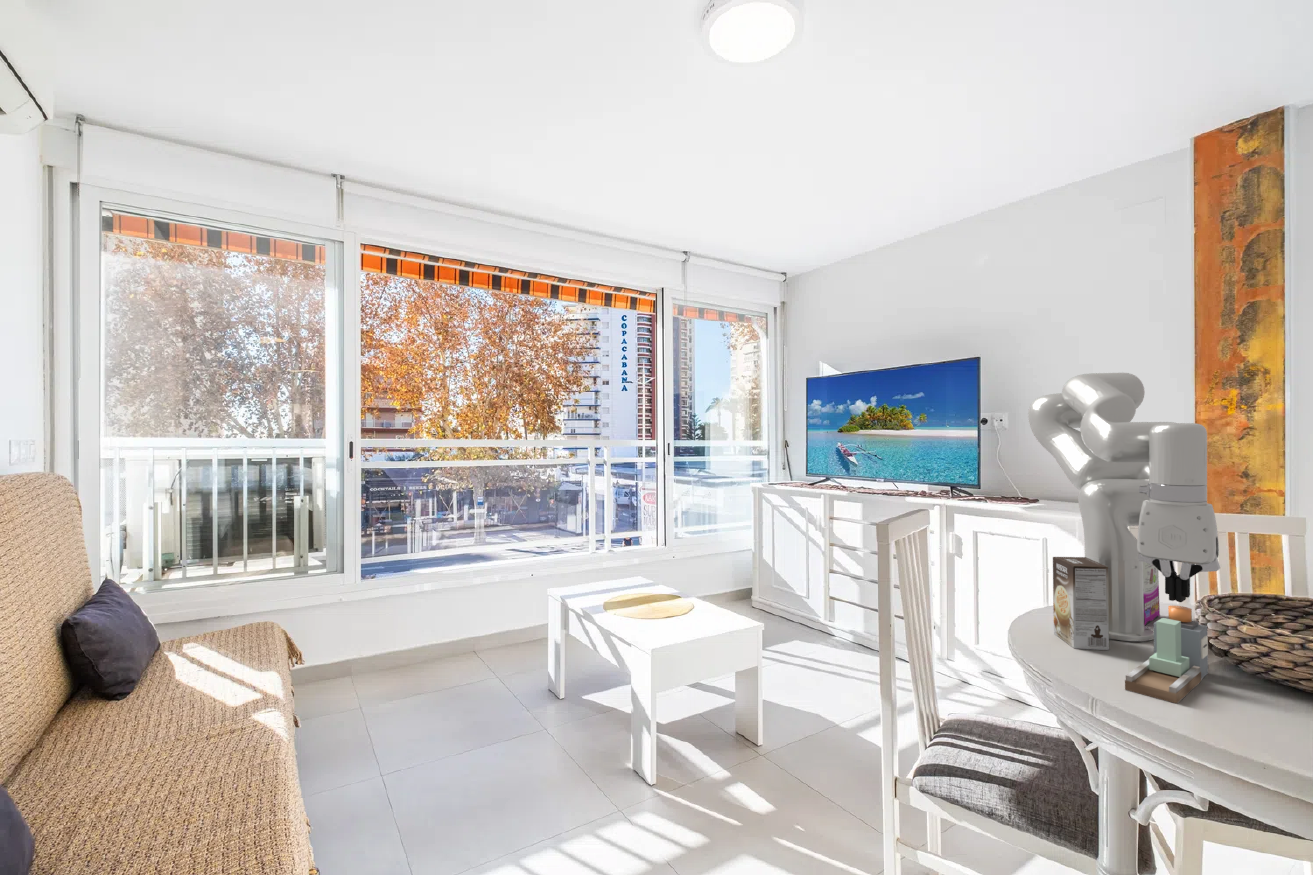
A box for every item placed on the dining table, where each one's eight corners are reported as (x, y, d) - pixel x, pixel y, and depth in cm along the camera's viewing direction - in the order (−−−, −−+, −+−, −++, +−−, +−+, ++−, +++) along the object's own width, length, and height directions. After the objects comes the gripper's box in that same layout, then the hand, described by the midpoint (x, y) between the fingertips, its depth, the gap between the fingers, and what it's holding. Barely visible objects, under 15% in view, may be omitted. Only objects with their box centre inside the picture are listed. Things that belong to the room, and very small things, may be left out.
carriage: (1158, 662, 101) (1157, 615, 101) (1189, 669, 98) (1188, 621, 98) (1149, 669, 98) (1148, 621, 98) (1180, 677, 95) (1179, 627, 95)
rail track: (1152, 669, 103) (1152, 655, 103) (1201, 681, 98) (1201, 667, 98) (1125, 689, 95) (1124, 675, 95) (1176, 703, 90) (1176, 688, 90)
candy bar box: (1132, 611, 136) (1131, 540, 136) (1160, 616, 132) (1159, 543, 132) (1115, 620, 130) (1114, 546, 130) (1144, 626, 126) (1143, 549, 126)
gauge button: (1171, 615, 104) (1171, 604, 104) (1194, 619, 101) (1193, 608, 101) (1166, 619, 102) (1166, 607, 102) (1189, 623, 100) (1188, 611, 100)
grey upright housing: (1163, 662, 106) (1162, 614, 106) (1210, 673, 101) (1209, 623, 101) (1154, 669, 103) (1153, 619, 103) (1202, 680, 98) (1201, 628, 98)
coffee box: (1051, 633, 122) (1050, 555, 122) (1086, 635, 121) (1085, 556, 121) (1073, 649, 113) (1072, 565, 113) (1111, 651, 112) (1110, 566, 112)
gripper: (1117, 492, 106) (1117, 594, 106) (1231, 500, 94) (1231, 615, 94) (1131, 489, 110) (1131, 587, 111) (1242, 496, 98) (1242, 605, 99)
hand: (1177, 599), depth 102 cm, fingers closed
